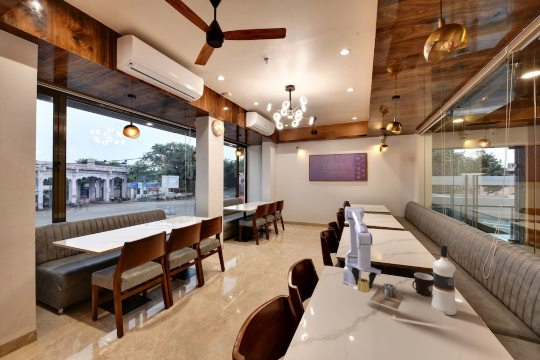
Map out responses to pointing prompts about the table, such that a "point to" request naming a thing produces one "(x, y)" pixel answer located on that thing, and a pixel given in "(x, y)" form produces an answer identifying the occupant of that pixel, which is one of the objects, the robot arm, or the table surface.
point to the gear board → (391, 299)
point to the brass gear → (363, 285)
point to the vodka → (444, 284)
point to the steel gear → (389, 290)
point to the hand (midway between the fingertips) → (363, 285)
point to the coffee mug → (423, 284)
